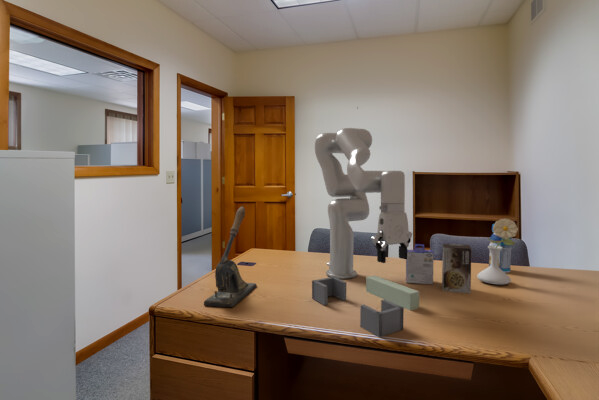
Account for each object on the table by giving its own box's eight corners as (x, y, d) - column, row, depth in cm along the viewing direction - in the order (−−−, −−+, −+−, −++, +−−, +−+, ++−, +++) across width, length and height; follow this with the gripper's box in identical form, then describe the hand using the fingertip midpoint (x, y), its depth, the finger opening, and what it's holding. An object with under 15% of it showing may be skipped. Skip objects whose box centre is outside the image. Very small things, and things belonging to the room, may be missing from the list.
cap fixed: (360, 326, 95) (360, 305, 95) (384, 319, 99) (384, 299, 99) (378, 337, 89) (379, 314, 88) (403, 329, 93) (403, 307, 93)
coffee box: (468, 288, 127) (469, 244, 125) (470, 294, 121) (472, 248, 119) (441, 285, 130) (442, 243, 128) (442, 291, 123) (443, 246, 122)
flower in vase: (472, 282, 133) (475, 218, 131) (481, 276, 141) (484, 215, 139) (512, 290, 124) (515, 221, 122) (519, 283, 132) (522, 218, 130)
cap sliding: (312, 298, 116) (312, 280, 116) (333, 293, 121) (333, 276, 120) (324, 305, 110) (324, 286, 110) (346, 299, 115) (346, 282, 114)
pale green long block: (366, 292, 123) (366, 277, 123) (374, 290, 125) (374, 275, 125) (409, 311, 106) (410, 293, 106) (418, 308, 108) (419, 291, 108)
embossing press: (200, 306, 110) (198, 212, 108) (233, 283, 133) (232, 205, 131) (232, 309, 108) (230, 213, 105) (260, 285, 130) (259, 206, 128)
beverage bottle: (511, 274, 144) (513, 226, 142) (487, 271, 148) (489, 225, 146) (510, 269, 151) (512, 224, 149) (488, 267, 155) (490, 222, 154)
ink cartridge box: (431, 280, 136) (432, 244, 135) (433, 284, 131) (434, 246, 129) (405, 279, 138) (405, 243, 137) (406, 283, 133) (407, 245, 131)
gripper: (380, 210, 106) (380, 266, 107) (420, 208, 114) (419, 259, 115) (364, 209, 112) (364, 261, 113) (402, 206, 121) (402, 255, 122)
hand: (392, 260), depth 114 cm, fingers open, 9 cm apart
